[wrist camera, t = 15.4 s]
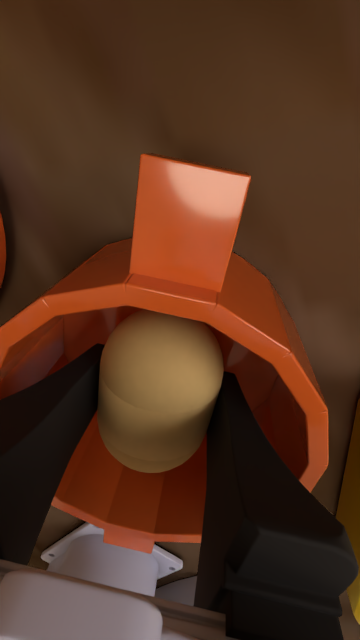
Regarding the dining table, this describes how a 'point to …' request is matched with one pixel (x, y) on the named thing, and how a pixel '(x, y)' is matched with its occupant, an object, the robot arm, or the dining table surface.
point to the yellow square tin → (352, 508)
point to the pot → (183, 301)
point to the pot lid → (2, 251)
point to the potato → (157, 389)
